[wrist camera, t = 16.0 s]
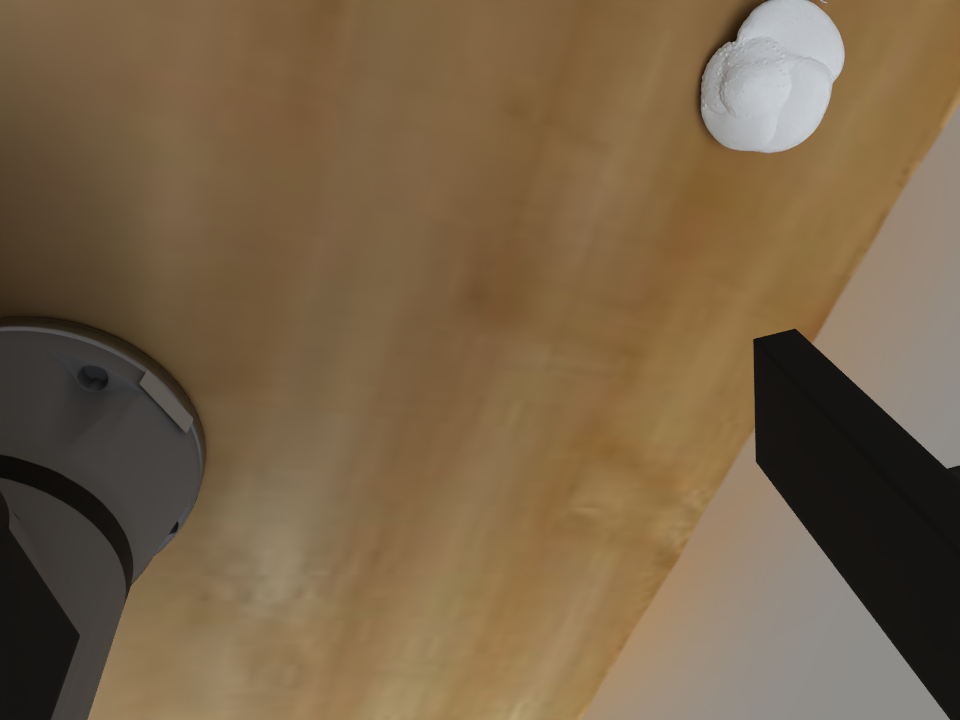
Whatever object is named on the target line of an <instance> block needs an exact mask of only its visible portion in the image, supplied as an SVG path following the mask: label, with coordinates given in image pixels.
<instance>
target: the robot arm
mask: <svg viewBox="0 0 960 720" xmlns="http://www.w3.org/2000/svg"><path fill="white" fill-rule="evenodd" d="M753 344H754V393H755V439H756V462H757V464H758V465H759V466H760V468H761V469H762V470H763V472H764V473H765V474H766V476H767V477H768V478H769V480H770V481H771V482H772V484H773V485H774V486H775V488H776V489H777V490H778V492H779V493H780V494H781V495H782V497H783V498H784V500H785V501H786V502H787V504H788V505H789V506H790V508H791V509H792V510H793V511H794V513H795V514H796V516H797V517H798V518H799V520H800V521H801V522H802V523H803V525H804V526H805V528H806V529H807V530H808V532H809V533H810V534H811V536H812V537H813V538H814V539H815V541H816V542H817V544H818V545H819V546H820V547H821V549H822V550H823V551H824V553H825V554H826V555H827V557H828V558H829V559H830V561H831V562H832V563H833V565H834V566H835V567H836V569H837V570H838V571H839V573H840V574H841V575H842V577H843V578H844V579H845V581H846V582H847V583H848V584H849V586H850V587H851V589H852V590H853V591H854V593H855V594H856V595H857V597H858V598H859V599H860V601H861V602H862V603H863V604H864V606H865V607H866V609H867V610H868V611H869V612H870V614H871V615H872V617H873V618H874V619H875V620H876V622H877V623H878V624H879V626H880V627H881V628H882V630H883V631H884V632H885V633H886V635H887V636H888V638H889V639H890V640H891V642H892V643H893V644H894V646H895V647H896V648H897V649H898V651H899V652H900V654H901V655H902V656H903V658H904V659H905V660H906V662H907V663H908V664H909V666H910V667H911V668H912V670H913V671H914V672H915V674H916V675H917V676H918V678H919V679H920V680H921V682H922V683H923V684H924V686H925V687H926V688H927V690H928V691H929V692H930V694H931V695H932V696H933V697H934V699H935V700H936V702H937V703H938V704H939V706H940V707H941V708H942V709H943V711H944V712H945V713H946V714H947V716H948V718H949V719H950V720H960V466H956V467H952V468H949V469H947V468H945V467H944V466H943V465H942V464H941V463H940V462H939V461H938V460H937V459H936V458H935V457H934V456H932V455H931V454H930V453H929V452H928V451H927V450H926V449H925V448H924V447H923V446H922V445H921V444H920V443H918V442H917V441H916V440H915V439H914V438H913V437H912V436H911V435H910V434H909V433H908V432H907V431H905V430H904V429H903V428H902V427H901V426H900V425H899V424H898V423H897V422H896V421H895V420H894V419H892V418H891V417H890V416H889V415H888V414H887V413H886V412H885V411H884V410H883V409H882V408H881V407H879V406H878V405H877V404H876V403H875V402H874V401H873V400H872V399H871V398H870V397H869V396H868V395H866V394H865V393H864V392H863V391H862V390H861V389H860V388H859V387H858V386H857V385H856V384H855V383H853V382H852V381H851V380H850V379H849V378H848V377H847V376H846V375H845V374H844V373H842V371H840V370H839V369H838V368H837V367H836V366H835V365H834V364H833V363H832V362H831V361H830V360H829V359H828V358H827V357H825V356H824V355H823V354H822V353H821V352H820V351H819V350H818V349H817V348H816V347H814V345H812V344H811V343H810V342H809V341H808V340H807V339H806V338H805V337H804V336H803V335H802V334H801V333H799V332H798V331H797V330H796V329H792V330H788V331H784V332H780V333H776V334H772V335H768V336H764V337H760V338H756V339H753ZM205 462H206V448H205V439H204V435H203V430H202V427H201V424H200V421H199V418H198V416H197V414H196V411H195V409H194V407H193V405H192V404H191V402H190V400H189V399H188V397H187V396H186V394H185V393H184V391H183V390H182V389H181V388H180V386H179V385H178V384H177V382H176V381H175V380H174V379H173V378H172V377H171V376H170V375H169V374H168V373H167V372H166V371H165V370H164V369H163V368H162V367H160V366H159V365H158V364H157V363H156V362H155V361H153V360H152V359H151V358H149V357H148V356H147V355H145V354H144V353H142V352H141V351H139V350H138V349H136V348H134V347H133V346H131V345H130V344H128V343H126V342H124V341H122V340H120V339H118V338H116V337H114V336H111V335H109V334H107V333H104V332H102V331H99V330H96V329H93V328H90V327H87V326H84V325H80V324H76V323H72V322H68V321H62V320H57V319H50V318H39V317H11V318H0V720H87V719H88V716H89V713H90V710H91V707H92V704H93V701H94V697H95V694H96V691H97V688H98V685H99V682H100V679H101V676H102V673H103V670H104V666H105V663H106V660H107V657H108V654H109V651H110V648H111V645H112V642H113V639H114V635H115V632H116V629H117V626H118V623H119V620H120V617H121V614H122V610H123V608H124V605H125V602H126V599H127V596H128V593H129V590H130V586H131V585H132V584H133V583H134V582H135V581H136V579H137V578H138V577H139V576H140V575H141V574H142V572H143V571H144V570H145V569H146V567H147V566H148V565H149V563H150V562H151V560H152V557H153V556H154V555H156V554H157V553H158V552H160V551H161V550H162V549H163V548H164V547H165V546H166V545H167V544H168V543H169V542H170V541H171V540H172V539H173V538H174V536H175V535H176V534H177V533H178V531H179V530H180V529H181V527H182V526H183V524H184V523H185V521H186V519H187V517H188V515H189V513H190V512H191V510H192V508H193V506H194V504H195V501H196V499H197V496H198V493H199V489H200V485H201V482H202V478H203V474H204V469H205Z"/></svg>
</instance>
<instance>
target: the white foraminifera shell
mask: <svg viewBox="0 0 960 720" xmlns="http://www.w3.org/2000/svg"><path fill="white" fill-rule="evenodd" d="M820 1H821V2H824V3H826V2H825V1H823V0H820ZM826 4H827V3H826ZM844 56H845V54H844V46H843V43H842V39H841V36H840V33H839V32H838V29H837V27H836V26H835V25H834V23H833V22H832V20H831V19H830V17H829V16H828V15H827V14H826V13H824V12H823V11H822V10H821V9H820V8H819V7H818V6H816V5H815V4H814V3H812V2H810V1H808V0H769V1H766V2H764V3H762V4H761V5H759V6H758V7H756V8H755V9H754V10H753V11H752V12H751V14H750V15H749V17H748V18H747V19H746V20H745V21H744V22H743V24H742V25H741V28H740V29H739V31H738V34H737V40H736V41H735V42H733V43H732V42H727V43H726V44H725V45H723V46H722V48H719V49H718V50H717V52H716V53H715V54H714V55H713V56H712V58H711V59H710V61H709V63H707V67H706V69H705V71H704V75H703V76H702V83H701V85H702V86H701V92H702V94H701V108H700V109H701V112H702V118H703V120H704V123H705V125H706V127H707V129H708V130H709V132H710V133H711V134H712V136H713V137H714V138H715V139H716V140H717V141H718V142H720V143H721V144H722V145H724V146H725V147H728V148H730V149H734V150H740V151H758V152H763V153H772V152H781V151H784V150H787V149H790V148H792V147H795V146H796V145H798V144H800V143H802V142H803V141H804V140H805V139H807V138H808V137H809V136H810V135H811V134H812V133H813V132H814V130H815V129H816V128H817V127H818V125H819V123H820V122H821V120H822V117H823V115H824V113H825V111H826V109H827V106H828V104H829V101H830V96H831V91H832V84H833V82H834V81H835V80H836V78H837V77H838V76H839V74H840V72H841V70H842V67H843V64H844V58H845V57H844Z"/></svg>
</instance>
